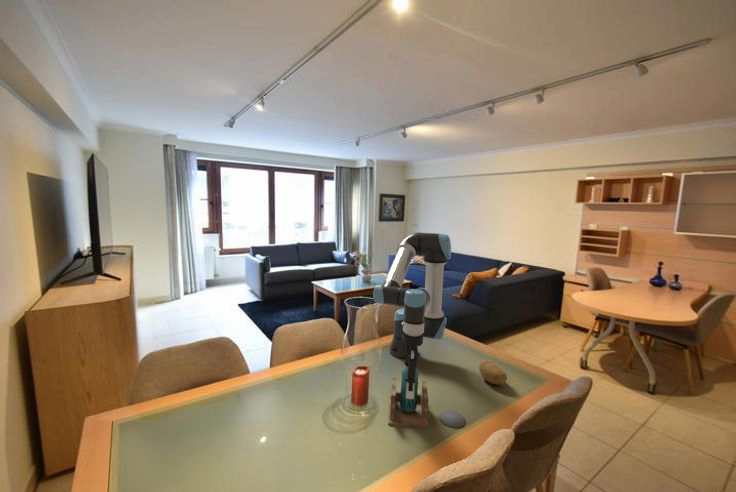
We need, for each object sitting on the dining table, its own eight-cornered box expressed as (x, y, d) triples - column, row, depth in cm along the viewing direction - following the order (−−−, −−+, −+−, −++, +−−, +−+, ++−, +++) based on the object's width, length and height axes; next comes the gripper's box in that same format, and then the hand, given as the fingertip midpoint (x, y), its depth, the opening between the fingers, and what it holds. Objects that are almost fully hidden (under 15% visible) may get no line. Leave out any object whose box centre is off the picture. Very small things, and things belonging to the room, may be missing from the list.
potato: (494, 392, 136) (496, 374, 135) (473, 375, 149) (474, 359, 148) (512, 388, 140) (514, 371, 139) (489, 372, 153) (491, 356, 152)
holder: (390, 398, 129) (391, 375, 127) (425, 401, 127) (427, 378, 126) (388, 424, 113) (389, 398, 112) (428, 429, 111) (430, 403, 110)
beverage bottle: (396, 412, 118) (399, 361, 116) (403, 403, 124) (405, 354, 122) (413, 418, 115) (416, 365, 113) (419, 408, 121) (422, 358, 119)
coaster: (438, 410, 122) (438, 409, 122) (462, 412, 121) (462, 411, 121) (440, 426, 113) (440, 424, 113) (466, 429, 112) (466, 427, 112)
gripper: (402, 319, 129) (399, 369, 131) (402, 346, 104) (398, 406, 107) (421, 321, 128) (418, 371, 131) (425, 348, 103) (421, 409, 106)
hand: (409, 387), depth 119 cm, fingers open, 13 cm apart
